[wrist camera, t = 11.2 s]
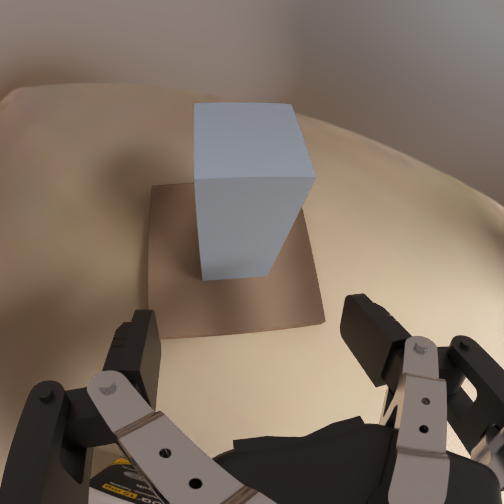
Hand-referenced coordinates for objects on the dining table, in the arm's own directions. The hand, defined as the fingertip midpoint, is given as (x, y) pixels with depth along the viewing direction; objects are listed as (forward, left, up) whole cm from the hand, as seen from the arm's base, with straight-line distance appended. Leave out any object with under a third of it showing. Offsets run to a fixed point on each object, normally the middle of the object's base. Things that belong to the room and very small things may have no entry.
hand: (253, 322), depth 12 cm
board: (0, -7, -8) cm, 11 cm away
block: (0, -7, -7) cm, 10 cm away
